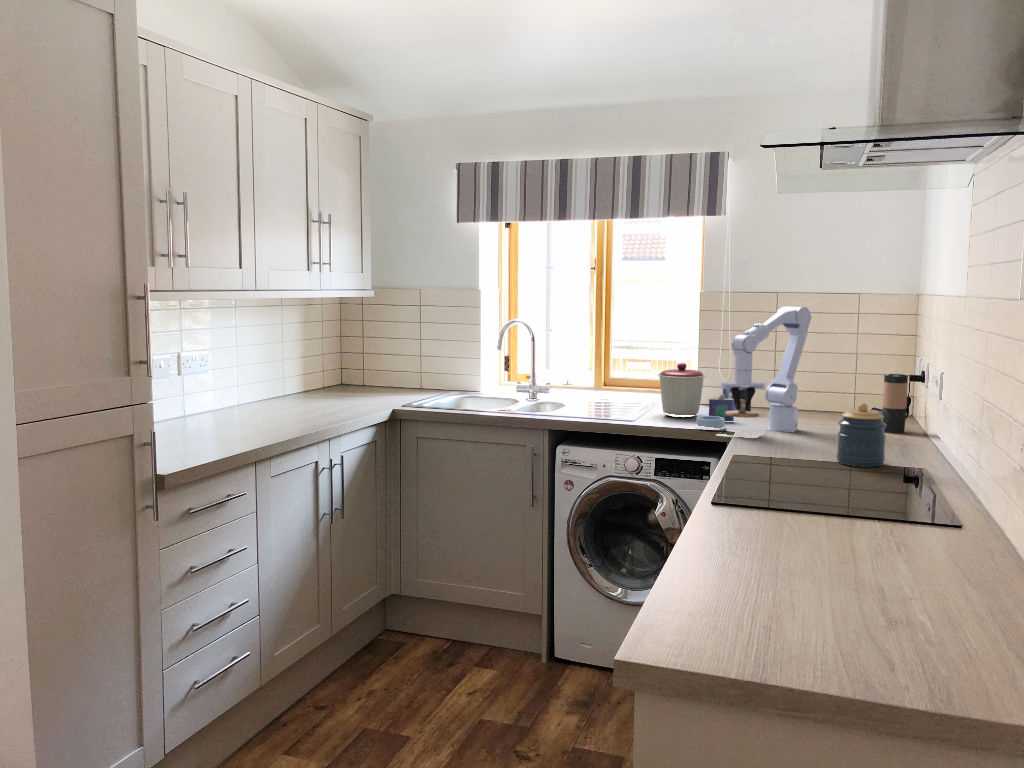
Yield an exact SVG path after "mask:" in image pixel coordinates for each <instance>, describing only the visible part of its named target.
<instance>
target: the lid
mask: <svg viewBox="0 0 1024 768" xmlns="http://www.w3.org/2000/svg"><path fill="white" fill-rule="evenodd" d="M759 414H760V413H759V412H756V411H751V412H750V411H746V400H740V409H739V411H726V412H725V415H727V416H732V417H734V418H750V419H751V418H753V419H754V418H757V417H759Z"/></svg>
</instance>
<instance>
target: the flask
mask: <svg viewBox="0 0 1024 768" xmlns="http://www.w3.org/2000/svg"><path fill="white" fill-rule="evenodd" d="M726 411H734V399H724V395H723V393H722V394H720V396H718V397H712V398H709V399H708V416H718V417H723V418H725V421H734V419H735V417H732V416H727V415H725V412H726Z"/></svg>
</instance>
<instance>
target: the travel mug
mask: <svg viewBox="0 0 1024 768" xmlns="http://www.w3.org/2000/svg"><path fill="white" fill-rule="evenodd" d="M883 377H884V378H883V390H882V391H883V394H882V395H883V396H882V412H881V413H882V414H881V415H883V416H884V418H882V420H883V421H884V423H886V425H887V426H886V427H885V428H884V433H886V434H887V433H888V434H895V433H899V434H904V433H905V429H906V417H907V416H906V415H907V408H908V407H907V403H908V378H909V376H908V375H907V374H901V373H888V375H886V374H884V375H883Z"/></svg>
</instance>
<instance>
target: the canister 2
mask: <svg viewBox="0 0 1024 768" xmlns="http://www.w3.org/2000/svg"><path fill="white" fill-rule="evenodd" d="M868 408H869V407H868V405H867V403H864V402H862V403H859V404H858V405H857V408H855V409H854V408H852V409H847V410H846V411H845V412H842V414H841V416H842V419H841V420H839V421H838V422H837V423H838V425H839V430H838V432H837V453H836V458H837V459H836V460H837V462H838V461H839V462H841V463H844V464H849V465H855V466H864V467H863V468H877V467H876V466H880V467H882V466H884V463H885V461H886V459H885V458H886V456H885V449H886V448H885V447H886V438H887V435H886V434H885V432H884V428H885V427H886V426H887V425H886V423H884V422H883V421H882V418H884V416H883V415H882V414H881V413H880V412H879V411H878V410H873V409H868ZM839 462H838V463H839ZM841 463H840V464H841ZM844 464H843V465H844ZM873 466H874V467H873Z"/></svg>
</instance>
